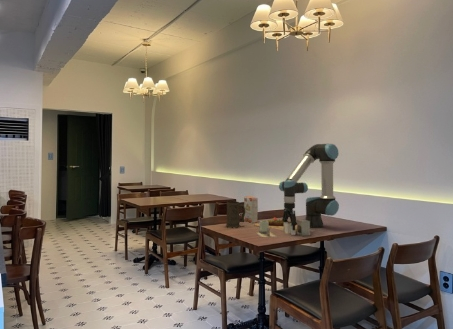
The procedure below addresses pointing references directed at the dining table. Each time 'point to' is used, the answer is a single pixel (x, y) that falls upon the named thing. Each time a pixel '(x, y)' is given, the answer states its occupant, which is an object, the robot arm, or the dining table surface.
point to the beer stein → (234, 214)
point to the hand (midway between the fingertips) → (289, 233)
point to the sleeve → (288, 228)
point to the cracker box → (251, 209)
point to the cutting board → (276, 224)
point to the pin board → (266, 234)
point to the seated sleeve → (263, 227)
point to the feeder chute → (303, 227)
